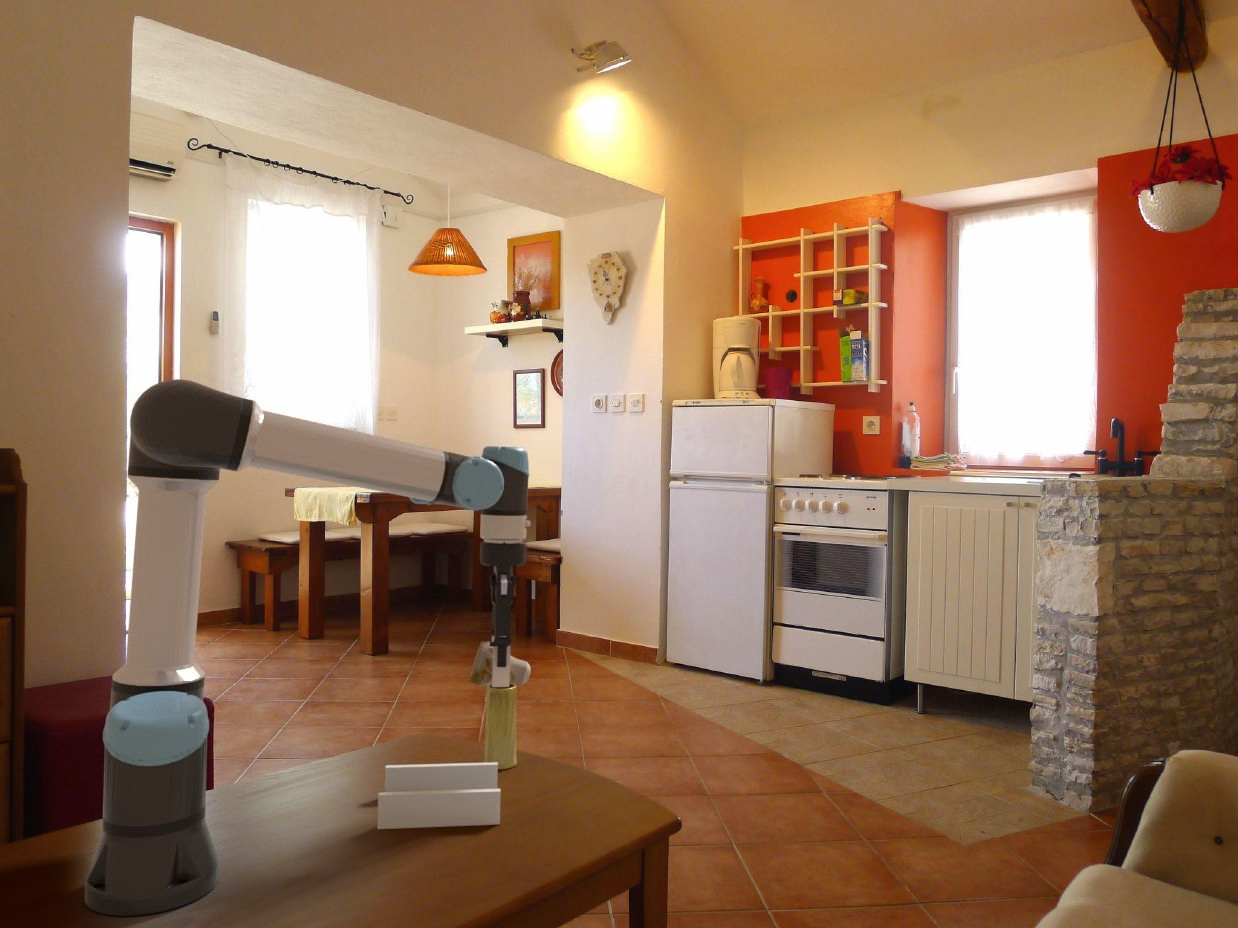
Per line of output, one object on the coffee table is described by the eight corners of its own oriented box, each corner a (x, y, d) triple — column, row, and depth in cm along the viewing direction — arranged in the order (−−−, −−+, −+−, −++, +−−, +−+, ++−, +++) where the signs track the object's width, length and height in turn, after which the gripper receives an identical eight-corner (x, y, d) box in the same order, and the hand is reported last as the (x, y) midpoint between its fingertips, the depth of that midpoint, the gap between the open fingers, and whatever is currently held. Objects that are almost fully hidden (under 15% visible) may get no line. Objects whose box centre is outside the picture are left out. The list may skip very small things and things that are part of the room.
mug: (536, 690, 149) (510, 638, 147) (482, 715, 150) (454, 663, 147) (537, 669, 156) (511, 620, 154) (484, 692, 157) (458, 643, 154)
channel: (377, 828, 137) (378, 795, 137) (385, 795, 151) (386, 765, 151) (499, 824, 140) (500, 791, 140) (496, 792, 154) (497, 762, 154)
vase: (478, 768, 165) (480, 688, 165) (488, 757, 171) (490, 680, 171) (511, 770, 164) (513, 690, 164) (520, 760, 170) (522, 682, 170)
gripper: (530, 546, 143) (526, 695, 143) (522, 535, 162) (519, 666, 162) (481, 546, 141) (477, 696, 141) (479, 535, 161) (475, 667, 161)
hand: (499, 680), depth 152 cm, fingers closed on mug, 7 cm apart
